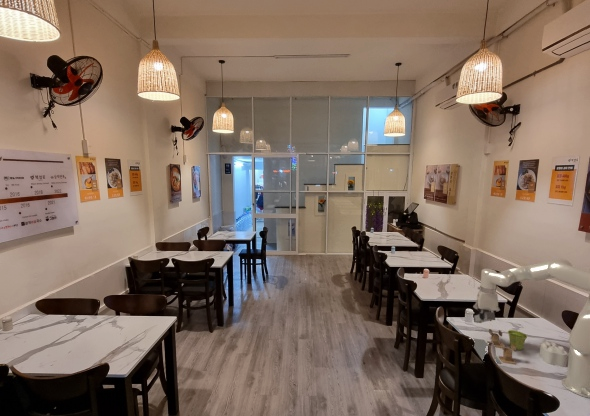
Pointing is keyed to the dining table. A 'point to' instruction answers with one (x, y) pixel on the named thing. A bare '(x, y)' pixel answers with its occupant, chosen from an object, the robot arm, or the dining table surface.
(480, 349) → the mat
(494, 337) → the post far
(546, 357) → the lumpy-topped squat cylinder
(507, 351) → the post near
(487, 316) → the rail
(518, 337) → the plant pot
